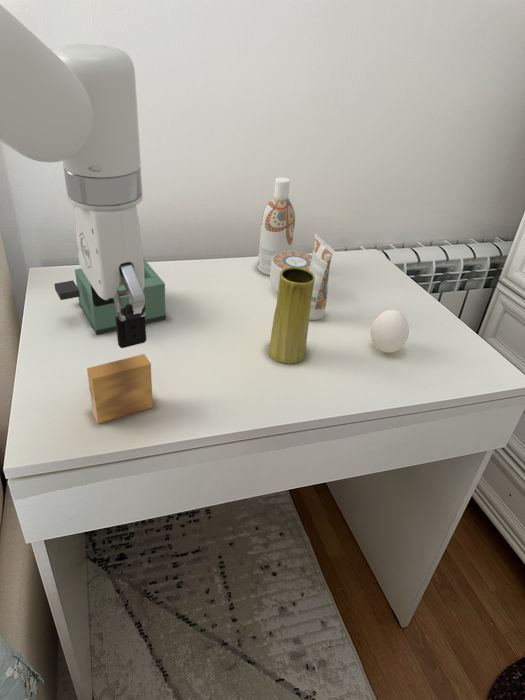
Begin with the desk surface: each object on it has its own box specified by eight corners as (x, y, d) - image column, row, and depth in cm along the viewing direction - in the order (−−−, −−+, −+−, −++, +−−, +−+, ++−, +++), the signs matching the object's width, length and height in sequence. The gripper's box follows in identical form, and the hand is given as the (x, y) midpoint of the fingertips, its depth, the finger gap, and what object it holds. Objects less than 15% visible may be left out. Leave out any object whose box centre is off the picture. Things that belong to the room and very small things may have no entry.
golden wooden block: (97, 423, 70) (92, 378, 66) (92, 412, 72) (86, 368, 67) (152, 407, 74) (150, 363, 69) (146, 397, 75) (144, 353, 71)
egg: (361, 340, 92) (370, 302, 88) (394, 338, 93) (405, 301, 89) (374, 361, 87) (384, 322, 83) (408, 359, 88) (420, 320, 84)
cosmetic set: (342, 321, 96) (363, 223, 85) (296, 328, 93) (311, 227, 82) (286, 260, 115) (297, 172, 104) (246, 264, 112) (253, 174, 101)
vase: (294, 339, 90) (305, 263, 82) (312, 359, 86) (326, 281, 78) (261, 346, 88) (269, 268, 80) (278, 367, 84) (289, 287, 75)
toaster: (96, 334, 87) (92, 297, 82) (79, 305, 93) (74, 269, 89) (165, 319, 92) (165, 283, 88) (145, 292, 99) (143, 258, 95)
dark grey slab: (60, 300, 84) (59, 293, 83) (55, 289, 86) (54, 283, 85) (80, 296, 85) (79, 290, 84) (74, 286, 87) (73, 280, 87)
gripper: (46, 161, 59) (68, 295, 69) (92, 220, 47) (110, 371, 57) (113, 156, 62) (125, 284, 72) (171, 209, 51) (175, 353, 61)
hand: (118, 322), depth 65 cm, fingers open, 9 cm apart
